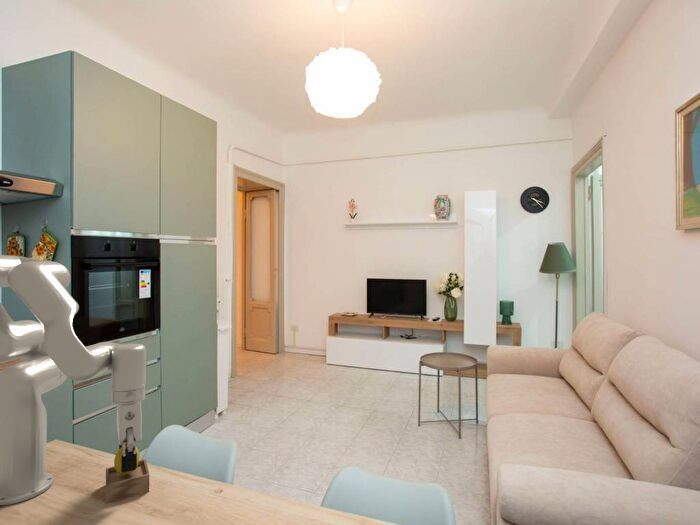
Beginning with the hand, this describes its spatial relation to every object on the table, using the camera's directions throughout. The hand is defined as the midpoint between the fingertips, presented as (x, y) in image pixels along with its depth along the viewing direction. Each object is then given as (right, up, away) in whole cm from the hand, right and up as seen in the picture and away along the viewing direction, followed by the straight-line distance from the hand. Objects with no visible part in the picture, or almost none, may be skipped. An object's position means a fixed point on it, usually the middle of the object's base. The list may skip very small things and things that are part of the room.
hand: (127, 461), depth 97 cm
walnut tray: (0, -7, 0) cm, 7 cm away
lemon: (0, -4, 0) cm, 4 cm away
